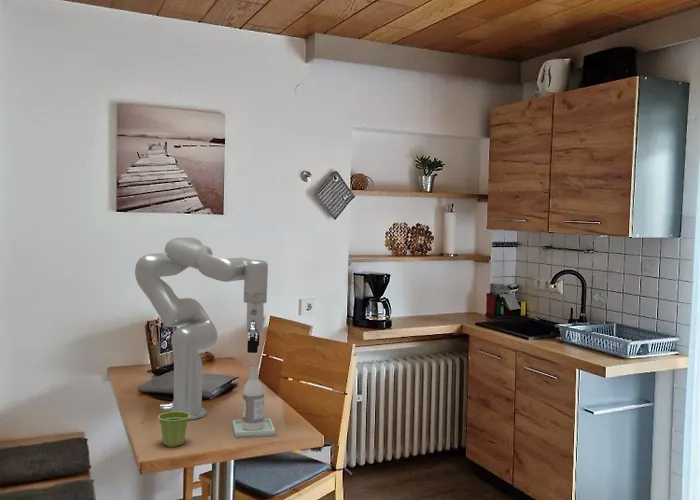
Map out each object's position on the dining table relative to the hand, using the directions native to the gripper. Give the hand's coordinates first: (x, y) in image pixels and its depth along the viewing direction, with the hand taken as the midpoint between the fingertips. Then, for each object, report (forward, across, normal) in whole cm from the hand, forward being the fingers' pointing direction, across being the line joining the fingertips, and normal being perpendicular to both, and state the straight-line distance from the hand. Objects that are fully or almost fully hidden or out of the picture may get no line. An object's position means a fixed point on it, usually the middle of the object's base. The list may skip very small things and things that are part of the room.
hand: (253, 349), depth 212 cm
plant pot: (+27, -14, +22) cm, 38 cm away
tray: (+26, -3, -1) cm, 26 cm away
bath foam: (+26, -2, -1) cm, 26 cm away
